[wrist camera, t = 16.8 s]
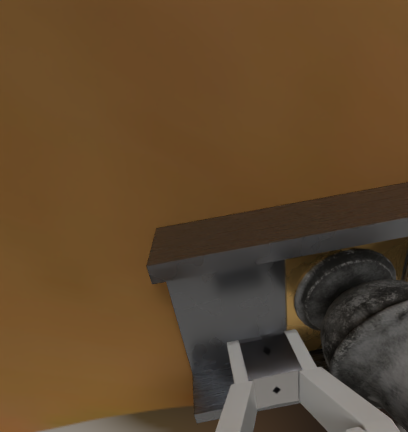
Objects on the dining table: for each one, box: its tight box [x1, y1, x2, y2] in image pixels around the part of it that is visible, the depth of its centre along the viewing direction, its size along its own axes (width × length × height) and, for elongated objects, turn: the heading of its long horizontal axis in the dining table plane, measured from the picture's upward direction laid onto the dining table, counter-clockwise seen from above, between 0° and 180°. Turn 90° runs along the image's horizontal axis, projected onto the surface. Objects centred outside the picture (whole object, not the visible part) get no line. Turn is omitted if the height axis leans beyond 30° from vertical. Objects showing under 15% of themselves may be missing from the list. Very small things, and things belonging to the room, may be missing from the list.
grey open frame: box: [147, 182, 408, 423], centre depth 11 cm, size 13×10×4 cm
